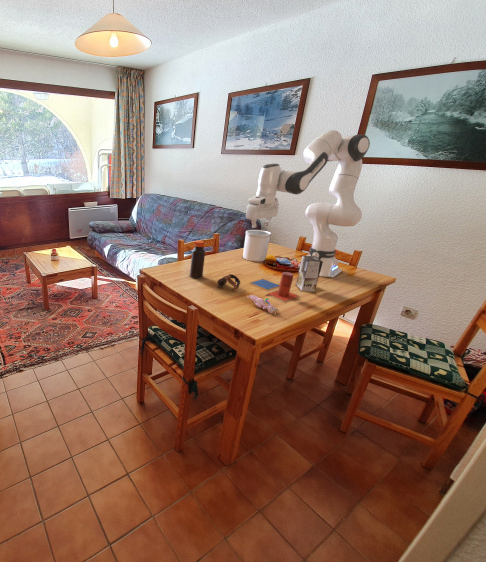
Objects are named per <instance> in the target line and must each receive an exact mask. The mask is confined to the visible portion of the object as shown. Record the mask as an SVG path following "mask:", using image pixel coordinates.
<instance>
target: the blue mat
mask: <svg viewBox="0 0 486 562" xmlns="http://www.w3.org/2000/svg"><path fill="white" fill-rule="evenodd" d="M251 284H253V285H255V286H257V287H260V288H263V289H265V290H270V289H275V288H277V287H279V285H280V284H277V283H274V282H272V281H270V280H268V279H267V280H266V279H259V280H256V281H251Z"/></svg>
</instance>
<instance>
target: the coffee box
mask: <svg viewBox="0 0 486 562" xmlns="http://www.w3.org/2000/svg"><path fill="white" fill-rule="evenodd" d="M322 263H323V261H321V260H320V259H319V258H317V257H316V256H307V255H302V256H301V261H300V265H299V270H298V274H297V279H296V283H295V284H296V285H297V287H298V288H299V289H300V291H303V292H316V288H317V285H318V282H319V277H320V276H319V274H320V271H321V267H322Z"/></svg>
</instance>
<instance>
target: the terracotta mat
mask: <svg viewBox="0 0 486 562" xmlns="http://www.w3.org/2000/svg"><path fill="white" fill-rule="evenodd" d="M268 295H269V296H271V297H274V298H277V299H279V300H281V301H284V302H287V301H290V300H292V299H295V298H297V297H299V295H297V294H296V293H293V292H291V291H290V292H289V296H288V297H282V296H279V295H278V290H276V291H275V290H274V291H272V292H269V293H268Z"/></svg>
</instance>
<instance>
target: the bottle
mask: <svg viewBox="0 0 486 562" xmlns="http://www.w3.org/2000/svg"><path fill="white" fill-rule="evenodd" d="M205 256H206V250H205V241H203V240H195V241H194V248H193V249H192V250H191V262H190V269H189V270H190V271H189V277H190V278H192V279H202V278H203V275H204V265H205V258H206V257H205Z"/></svg>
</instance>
